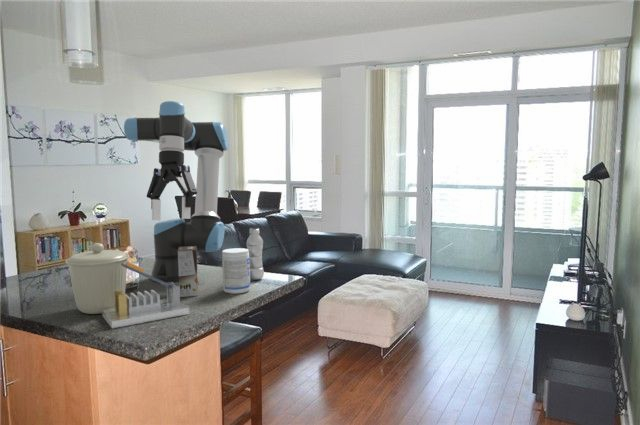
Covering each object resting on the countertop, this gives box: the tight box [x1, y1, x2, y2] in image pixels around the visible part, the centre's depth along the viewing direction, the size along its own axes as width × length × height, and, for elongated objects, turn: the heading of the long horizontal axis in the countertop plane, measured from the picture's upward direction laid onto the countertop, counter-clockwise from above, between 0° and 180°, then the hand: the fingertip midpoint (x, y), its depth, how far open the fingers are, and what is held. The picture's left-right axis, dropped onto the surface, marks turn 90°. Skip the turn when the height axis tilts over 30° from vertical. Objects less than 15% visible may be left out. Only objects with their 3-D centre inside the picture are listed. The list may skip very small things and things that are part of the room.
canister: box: [64, 242, 130, 315], centre depth 152 cm, size 18×18×21 cm
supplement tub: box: [221, 247, 251, 295], centre depth 173 cm, size 10×10×15 cm
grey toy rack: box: [101, 282, 190, 329], centre depth 147 cm, size 14×22×8 cm, turn 124°
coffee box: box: [178, 246, 199, 298], centre depth 171 cm, size 9×6×16 cm
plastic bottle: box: [246, 227, 265, 281], centre depth 189 cm, size 6×7×20 cm
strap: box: [121, 260, 176, 290], centre depth 147 cm, size 3×18×2 cm
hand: (170, 219), depth 151 cm, fingers open, 13 cm apart
